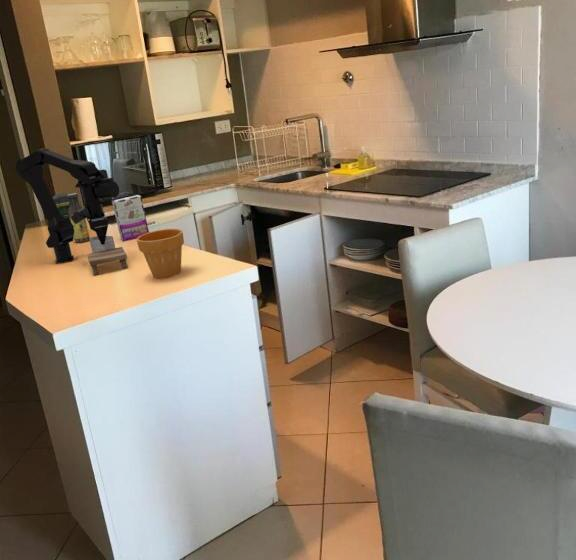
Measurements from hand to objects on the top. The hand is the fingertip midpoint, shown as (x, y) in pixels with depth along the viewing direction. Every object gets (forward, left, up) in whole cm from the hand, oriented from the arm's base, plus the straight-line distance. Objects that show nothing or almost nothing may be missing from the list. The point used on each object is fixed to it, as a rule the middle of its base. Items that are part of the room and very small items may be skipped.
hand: (101, 241), depth 224 cm
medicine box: (0, 0, -7) cm, 7 cm away
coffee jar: (-59, -10, -7) cm, 60 cm away
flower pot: (+35, +16, -7) cm, 39 cm away
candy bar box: (-28, +14, -7) cm, 32 cm away
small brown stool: (+12, 0, -7) cm, 14 cm away
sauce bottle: (-41, -6, -7) cm, 42 cm away
